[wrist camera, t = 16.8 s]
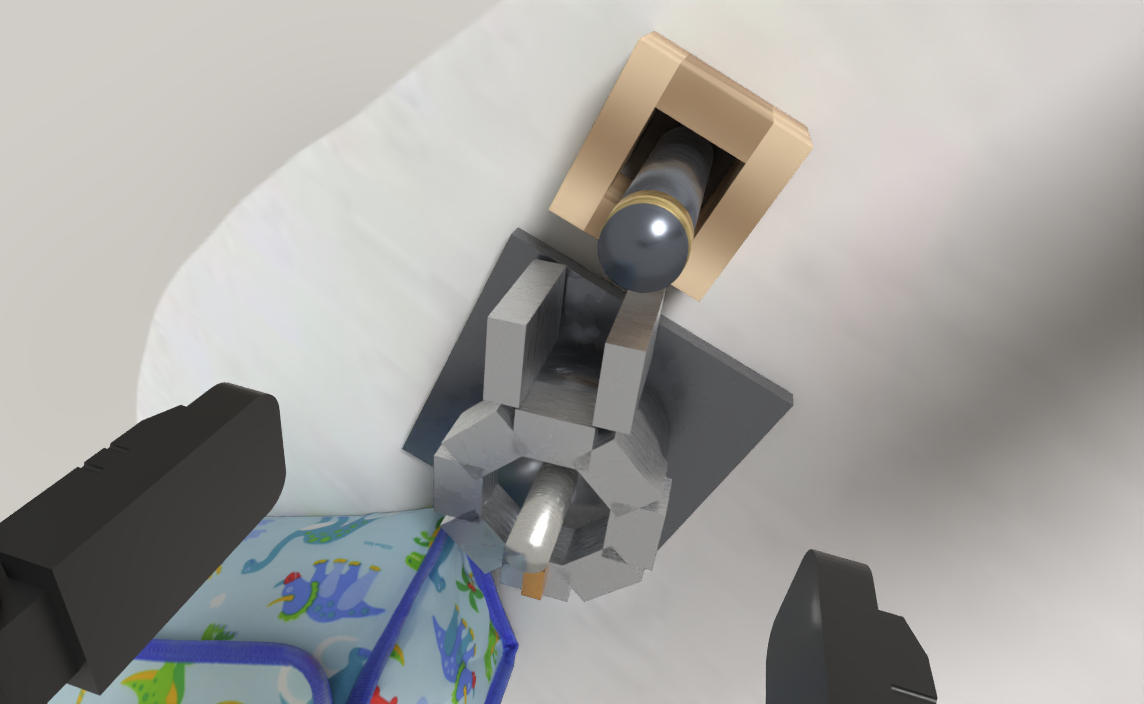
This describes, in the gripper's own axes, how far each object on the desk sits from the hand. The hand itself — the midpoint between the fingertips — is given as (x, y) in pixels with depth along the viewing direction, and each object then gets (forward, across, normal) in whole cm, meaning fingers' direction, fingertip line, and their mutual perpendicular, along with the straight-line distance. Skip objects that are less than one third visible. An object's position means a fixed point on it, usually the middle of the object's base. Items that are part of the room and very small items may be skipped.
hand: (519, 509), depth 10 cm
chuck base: (+23, +2, +15) cm, 28 cm away
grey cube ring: (+22, +2, +13) cm, 26 cm away
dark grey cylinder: (+23, 0, 0) cm, 23 cm away
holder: (+23, 0, 0) cm, 23 cm away
